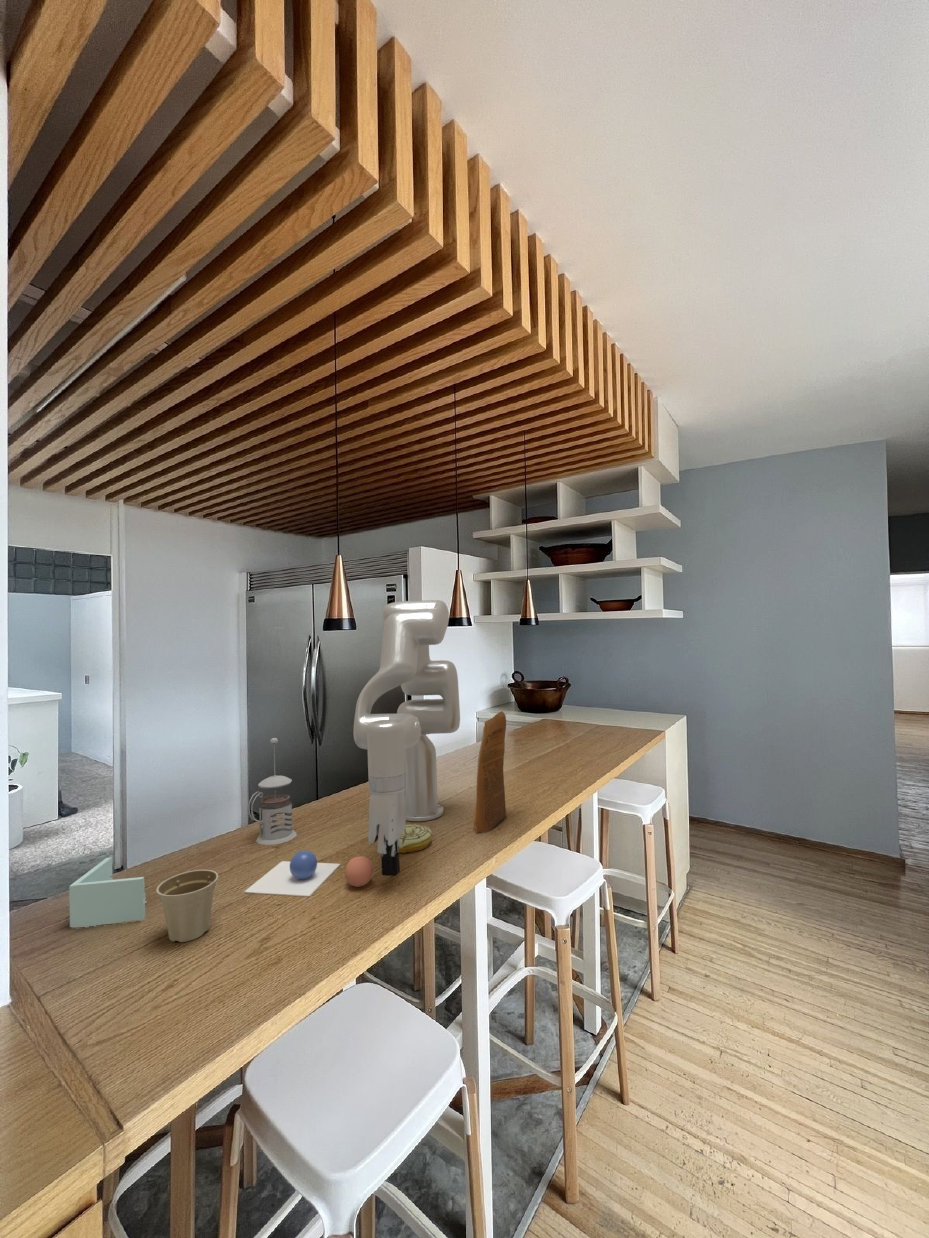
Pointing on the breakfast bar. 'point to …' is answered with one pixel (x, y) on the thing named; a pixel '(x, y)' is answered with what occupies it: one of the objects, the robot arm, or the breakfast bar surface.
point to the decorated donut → (414, 838)
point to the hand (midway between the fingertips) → (390, 873)
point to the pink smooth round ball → (359, 871)
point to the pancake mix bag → (491, 776)
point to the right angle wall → (105, 898)
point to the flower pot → (188, 903)
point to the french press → (274, 811)
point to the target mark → (291, 881)
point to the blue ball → (303, 865)
